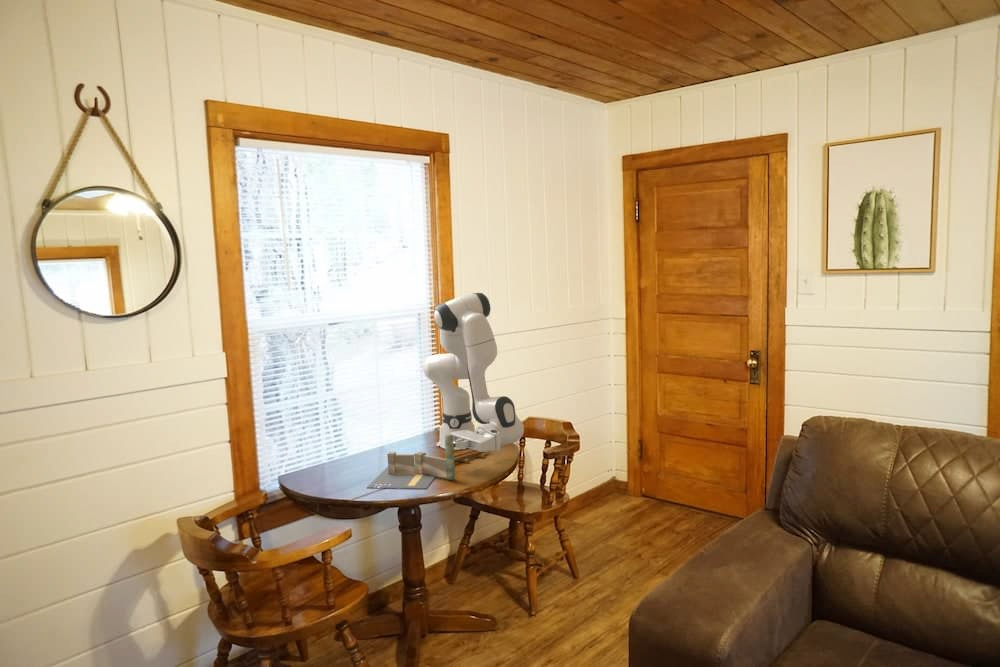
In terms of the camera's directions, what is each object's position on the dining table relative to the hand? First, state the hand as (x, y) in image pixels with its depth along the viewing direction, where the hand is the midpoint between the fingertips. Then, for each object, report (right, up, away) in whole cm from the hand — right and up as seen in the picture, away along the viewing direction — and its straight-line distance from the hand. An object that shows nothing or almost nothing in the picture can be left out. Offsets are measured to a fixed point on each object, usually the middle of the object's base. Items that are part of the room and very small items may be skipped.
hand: (453, 444), depth 233 cm
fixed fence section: (-20, -12, +10) cm, 25 cm away
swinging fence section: (-7, -12, +5) cm, 14 cm away
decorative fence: (+2, -10, +25) cm, 27 cm away
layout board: (-17, -13, +7) cm, 22 cm away
